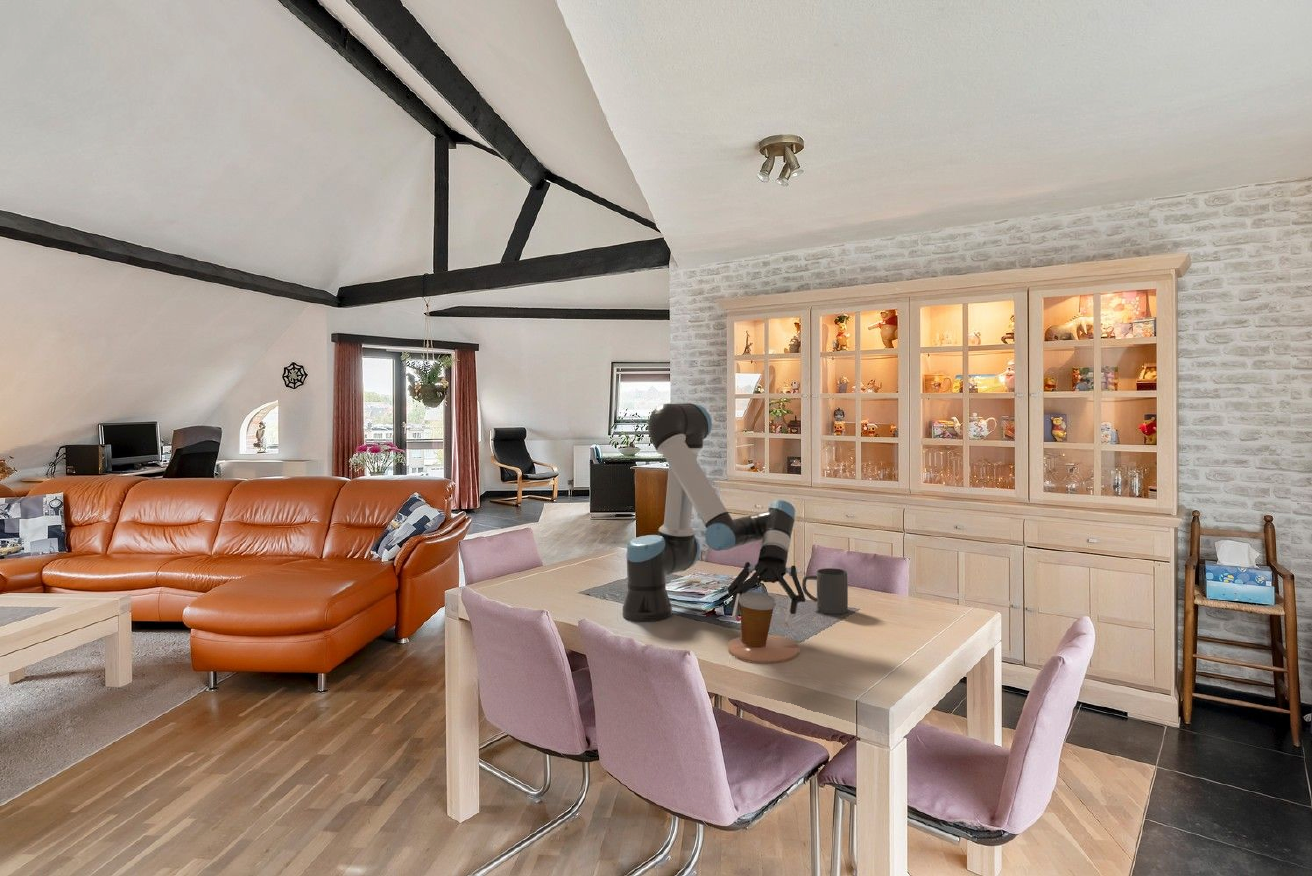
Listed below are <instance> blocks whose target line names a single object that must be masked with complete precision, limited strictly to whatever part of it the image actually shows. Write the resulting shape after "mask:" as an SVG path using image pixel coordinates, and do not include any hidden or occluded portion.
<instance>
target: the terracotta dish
mask: <svg viewBox="0 0 1312 876" xmlns="http://www.w3.org/2000/svg"><path fill="white" fill-rule="evenodd" d="M727 650H728V654H730V656H732V657H734V656H735V657H734V658H736V657H737V658H736V659H738V658H739V659H738V660H741V659H742V660H741V661H744V660H745V661H744V662H748V661H750V662H749V663H757V664H778V663H784V662H788V661H791V660H793V659H795V658H797V657H798V656H799V655H800V646H799V644H798V643H797V642H796V641H794V640H793V639H790V638H789V637H784V636H779V635H775V634H774V635H773V634H768V637H767V641H766V645H765V646H762V647H754V646H749V645H746V644H744V643H742V640H741V636H738V637H736V638H733V639H731V640H730V641H729V642H728V645H727Z"/></svg>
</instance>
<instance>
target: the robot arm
mask: <svg viewBox="0 0 1312 876" xmlns="http://www.w3.org/2000/svg"><path fill="white" fill-rule="evenodd" d="M647 423H648V424H647V431H648V435H649V439H650V441H651V443H652V445H653V447H654V449H655V451H656V452H657V453H658V454H660V455H663V457H664V459H665V460H666V462H667V464H668V473H667V481H666V493H665V494H666V497H665V506H664V508H665V509H664V519H663V524H662V525H661V526H660V527H659V528H658V530H657V531H658V534H647V535H641V536H638V537H634V538H633V539H631V540H629V542H628V543H627V545H626V556H625V557H626V572H627V573H626V574H627V590H626V591H627V592H626V596H625V599H624V603H623V606H622V610H621V611H622V617H623V618H624V619H627V620H630V621H635V622H657V621H662V620H666V619H668V618H670V617H671V616H672V615H673V607H672V604H671V601H670V598H669V597H670V596H669V594H668V591H667V589H666V588H667V587H666V586H667V585H666V581H667V580H666V576H669V575H672V574H675V573H678V572H679V573H681V572H684V571H686V570H689V569H691V568H692V567H693V566H694V565H695V564H697V562H698V561H699V559H700V555H701V546H700V543H699V542H698V538H697V537H696V536H695V535H696V534H695V533H696V532H695V530H694V529H693V528H692V526H691V525H692V523H691V522H692V514H693V507H694V510H695V512H696V513H697V515H698V516H699V518H700V519H701V521H702V524H703V525H704V526H705V528H706V530H705V532H704V538H705V543H706V545H707V546H708V547H709V548H710V549H711V550H713V551H716V552H720V551H728V550H730V549H731V550H732V549H734V548H736V547H739V546H745V545H747V544H751V543H754V542H759V541H761V545H760V549H759V555H758V560H757V563H756V564H751V563H750V562H749V561H746V562H745V564H744V567H743V568H742V569H741V571H740V572H739V573H738V575H737V576H736V577H735V578H734V580H733V581H732V582H731V583H730V584H729V586H728V587H727V592H728V593H729V595H730V596H732V599H731V606H732V608H733V609H732V610H733V611H732V615H731V616H732V617H731V618H732V619H733V621H734V622H738V619H739V616H740V612H741V611H740V602H739V599H740V597H741V594H743V593H748V591H749V590H751V589H752V588H754V587H755V586H756V585H758V584H760V583H761V582H763V583H772V584H775V583H778V584H779V585H780V586H781V587H782V589H783V590H784V591H785V592H786V594H787V595H788V597H789V598H788V599H787V600H788V601H787V604H786V605H787V606H786V612H785V617H784V623H785V626H786V627H787V628H790V625H791V622H792V621H791V620H792V615H796V613H797V608H798V604H799V603H801V602H802V603H805V602H806V597H805V596H806V595H805V593H804V591H803V588H802V585H801V583H800V581H799V578H798V570H797V566H796V565H791V567H786V566H787V561H788V558H789V557H788V556H789V555H788V554H789V550H790V546H791V539H792V532H793V528H794V524H795V516H796V508H795V507H794V505H793V504H791V502H789V501H786V500H784V499H783V500H781V499H777V500H773V501H772V502H771V503H770V504H769V507H768V511H763V512H761V513H755V514H752V515H747V516H743V517H738V518H736V519H735V518H732V516H731V514H730V513H729V511H728V510H727V508H726V507H725V505H724V503H723V502H722V501H721V498H720V496H719V495H718V494H717V492H716V490H715V488H714V487H713V485H712V484H711V482H710V480H709V479H708V477H707V475H706V473H705V472H704V470H703V469H702V466H701V465H700V464H699V462H698V460H697V459H698V453H699V452H700V451H701V450H702V449H703V447H704V446H703V445H704V440H705V439H706V438H708V436H709V435H710V433H711V431H712V429H713V427H712V426H713V423H712V417H711V415H710V413H709V412H708V411H707V409H706V408H705V407H704V406H703V405H700V404H698V403H690V402H685V403H684V402H681V403H680V402H679V403H670V402H668V403H663V404H660V405H659V406H657V407H656V408H654V410H652V412H651V414H650V416H649V418H648V422H647ZM754 571H755V572H754ZM753 572H754V573H753ZM750 574H752V576H750ZM786 574H788V576H790V577H791V578H792V581H793V584H794V587H795V589H796V593H797V594H796V593H795V592H794V590H793V589H792V587H791V586H790V585H789V584H788V582H787V581H786V579H785V578H784V576H785V575H786ZM749 576H750V577H749Z"/></svg>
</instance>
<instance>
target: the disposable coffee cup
mask: <svg viewBox="0 0 1312 876" xmlns="http://www.w3.org/2000/svg"><path fill="white" fill-rule="evenodd" d="M739 602H740V611H739V612H740V632H741V633H740V637H741V640H742V643H744V644H746V645H749V646H754V647H762V646H765V645H766V641H767V637H768V635H769V631H770V627H771V621H772V618H773V614H774V609H775V607H776V605H777V604H776V601H775V598H774V597H773V596H771V595H768V594H766V593H761V592H760V593H759V592H746V593H743V594H741V597H740V599H739Z"/></svg>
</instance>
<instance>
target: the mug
mask: <svg viewBox="0 0 1312 876" xmlns="http://www.w3.org/2000/svg"><path fill="white" fill-rule="evenodd" d="M810 579H811V580H812V579H813V580H816V597H815V596H813V595H812V594H811V593H810V592H809V591H808V589H807V580H810ZM848 583H849V582H848V572H847V571H846V570H845V569H840V568H831V567H830V568H828V567H827V568H826V567H825V568H819V569H817V570H816V575H814V574H812V575H805V576H804V577H803V578H802V583H801V584H802V585H801V588H802V591H803V593H804V595H805V596H806V597H808V598H809V599H810V600H812V601H813V602H816V605H817V607H816V609H817V611H818V612H820V613H822V614H825V613H826V615H843V614H846V613H847V612H848V607H849V606H848V605H849V603H848V601H849V599H848V598H849V597H848V596H849V595H848V594H849V593H848V591H849V589H848V587H849V586H848Z"/></svg>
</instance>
